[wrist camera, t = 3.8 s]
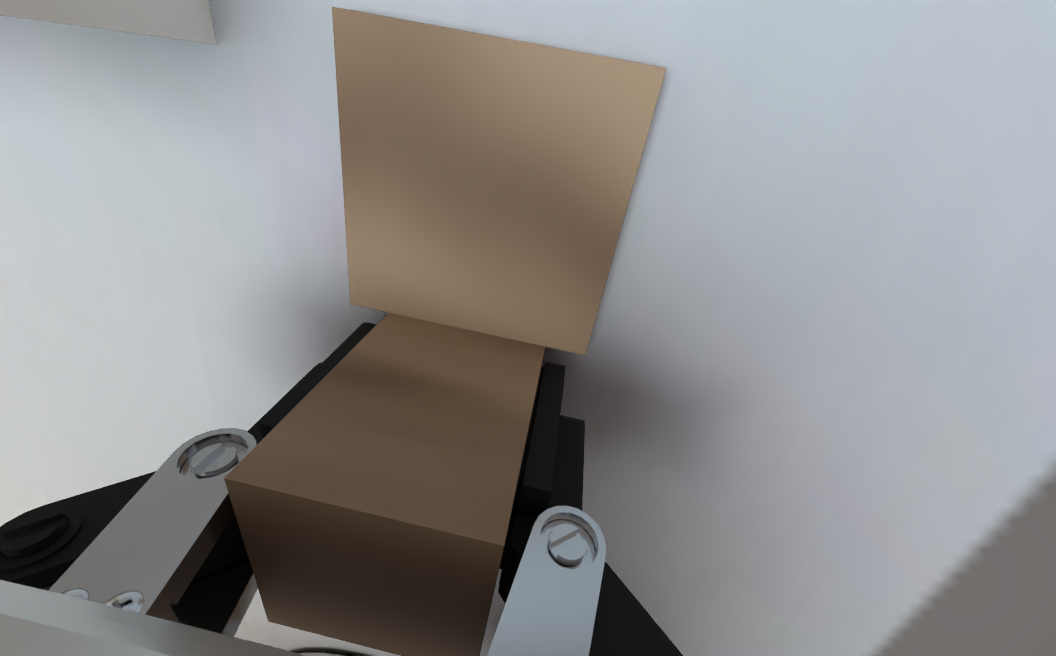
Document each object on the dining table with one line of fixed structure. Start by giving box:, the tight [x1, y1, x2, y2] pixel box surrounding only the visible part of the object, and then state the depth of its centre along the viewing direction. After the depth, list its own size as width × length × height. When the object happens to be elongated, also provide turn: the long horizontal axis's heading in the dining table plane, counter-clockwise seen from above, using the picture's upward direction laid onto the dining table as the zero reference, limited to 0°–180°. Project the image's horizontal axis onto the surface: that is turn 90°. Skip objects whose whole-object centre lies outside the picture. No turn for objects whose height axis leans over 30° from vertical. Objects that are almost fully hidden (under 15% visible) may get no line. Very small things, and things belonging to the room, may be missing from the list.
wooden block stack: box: [224, 7, 666, 656], centre depth 8 cm, size 10×6×6 cm, turn 171°
